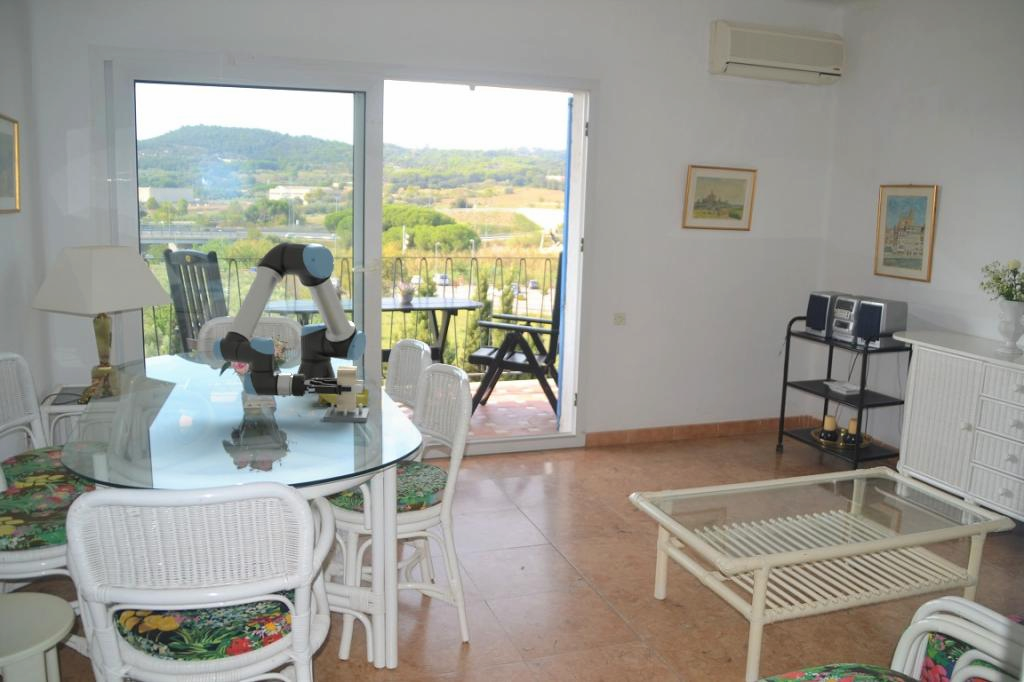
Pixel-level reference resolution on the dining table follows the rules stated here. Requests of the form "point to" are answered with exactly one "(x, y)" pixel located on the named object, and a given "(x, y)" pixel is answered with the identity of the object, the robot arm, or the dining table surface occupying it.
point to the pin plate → (346, 414)
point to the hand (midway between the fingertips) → (362, 386)
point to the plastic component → (332, 398)
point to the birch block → (346, 377)
